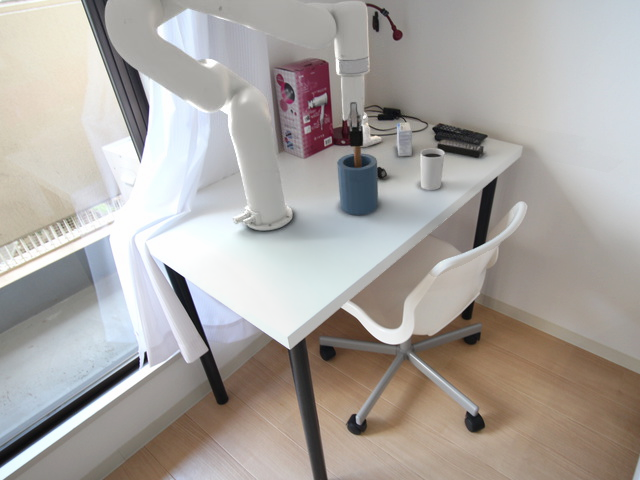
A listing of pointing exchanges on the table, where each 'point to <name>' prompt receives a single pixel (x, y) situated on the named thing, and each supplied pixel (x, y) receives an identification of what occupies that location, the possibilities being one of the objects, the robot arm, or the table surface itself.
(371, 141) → the sitting furry creature
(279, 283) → the table surface
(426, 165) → the white tumbler
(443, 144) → the multiport hub
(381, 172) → the electric trimmer
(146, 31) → the robot arm
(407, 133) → the medicine box
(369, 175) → the cup
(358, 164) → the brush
